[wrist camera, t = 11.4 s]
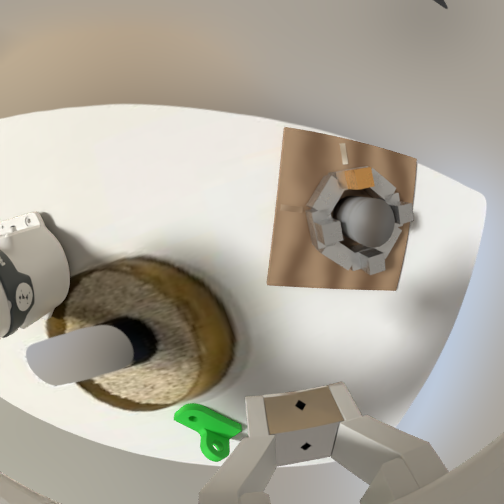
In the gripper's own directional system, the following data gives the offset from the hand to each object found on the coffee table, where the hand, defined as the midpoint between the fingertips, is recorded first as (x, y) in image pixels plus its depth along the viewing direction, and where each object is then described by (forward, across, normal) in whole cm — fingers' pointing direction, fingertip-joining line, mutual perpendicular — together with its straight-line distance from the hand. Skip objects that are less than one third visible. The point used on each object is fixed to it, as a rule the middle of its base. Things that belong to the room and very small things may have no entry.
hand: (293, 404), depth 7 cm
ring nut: (+30, -15, -1) cm, 34 cm away
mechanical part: (+32, +10, +36) cm, 49 cm away
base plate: (+31, -15, -1) cm, 35 cm away
